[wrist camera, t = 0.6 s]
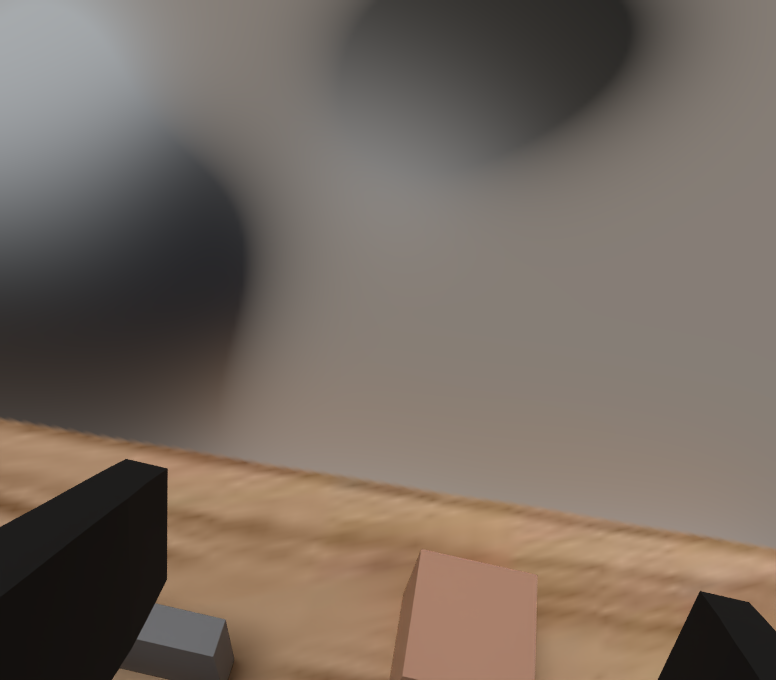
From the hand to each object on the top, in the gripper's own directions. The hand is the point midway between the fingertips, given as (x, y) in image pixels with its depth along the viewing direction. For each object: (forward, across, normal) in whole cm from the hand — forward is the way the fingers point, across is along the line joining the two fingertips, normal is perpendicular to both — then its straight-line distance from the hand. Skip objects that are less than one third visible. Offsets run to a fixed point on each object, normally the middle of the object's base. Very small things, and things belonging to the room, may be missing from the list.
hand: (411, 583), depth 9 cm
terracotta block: (+13, -3, +16) cm, 21 cm away
